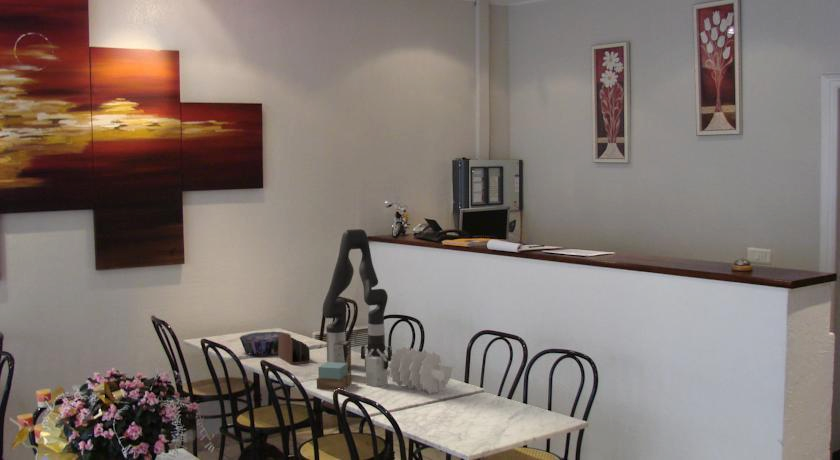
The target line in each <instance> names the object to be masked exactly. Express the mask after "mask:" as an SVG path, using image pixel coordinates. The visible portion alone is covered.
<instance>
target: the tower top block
mask: <svg viewBox="0 0 840 460" xmlns="http://www.w3.org/2000/svg"><path fill="white" fill-rule="evenodd" d="M347 374H348V364H347V363H334V362H327V361H326V362H324V363H323V364H321V365H320V366H318V377H319V378H324V379H339V380H340V379H341V378H343V377H344V376H346V375H347Z"/></svg>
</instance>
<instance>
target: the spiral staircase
mask: <svg viewBox="0 0 840 460" xmlns="http://www.w3.org/2000/svg"><path fill="white" fill-rule="evenodd" d="M441 362H442V360H441V356H440V354H439V353H438V354H437V353H436V352H434V351H432V353H431V352H428V351H426V349H423V350H422V351H420V350H419V349H414V348H412V347H411V348H407V347H405V345H402V347H400V348H395V352H394V354H393V353H392V356H391V360H390V363H389V364H388V369H390V372H389V377H390V378H392V383H396V384H397V385H398V386H399V387H401V386H404V387H405V386H407V388H408V389H410V390H412V389H414V388H416V389H417V391H420V390H424V391H427V392H428V394H432V393H437V394H438V393H439V391H442V390H443V389H444V388H446V386H447V385H448V384H449V383H448V382H449V381H450V379H451V378H452V377H451V375H452V372H453V367H451V366H445V365H440V364H441Z"/></svg>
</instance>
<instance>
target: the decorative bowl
mask: <svg viewBox="0 0 840 460" xmlns="http://www.w3.org/2000/svg"><path fill="white" fill-rule="evenodd" d="M279 332H280V331H264V332H263V331H262V332H260V331H259V332H252V333H248V334H244V335H241V336H239V340H240V342H241V344H242V347H243V350H244V352H245V353H246V352H247V353H246V354H248V353H250V354H255V355H254V356H257V355H258V356H270V355H276V354H277V355H278V341H279ZM281 332H282V333H286V334H287V335H289V336H290V337H292V334H290V333H289V332H284V331H281ZM250 354H249V355H250Z"/></svg>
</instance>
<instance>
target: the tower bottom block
mask: <svg viewBox="0 0 840 460" xmlns="http://www.w3.org/2000/svg"><path fill="white" fill-rule="evenodd" d="M350 385H352V372H351V373H348V374H347V375H346V376H344V377H343V378H341V379H340V380H339V379H324V378H319V376H318V377H317V378H316V389H318V390H319V389H320V390H330V389H331V390H332V391H335V390H334V389H338V388H340V389H343V390H345V389H346V388H347V387H349V386H350Z"/></svg>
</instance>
